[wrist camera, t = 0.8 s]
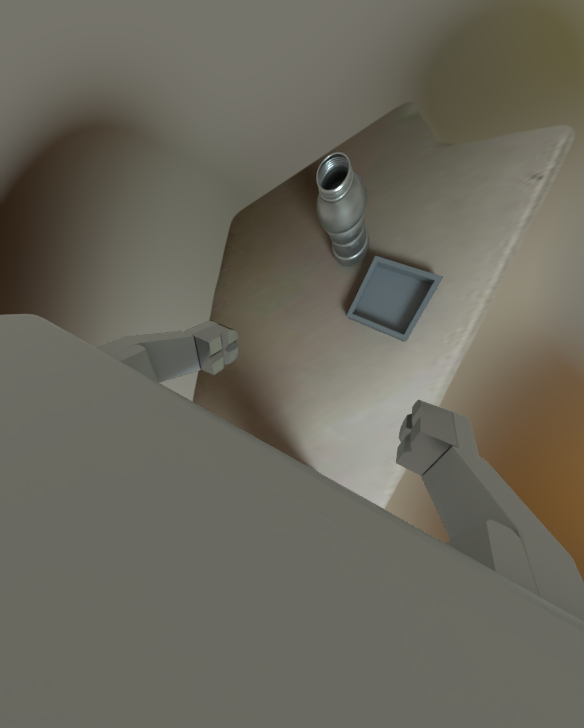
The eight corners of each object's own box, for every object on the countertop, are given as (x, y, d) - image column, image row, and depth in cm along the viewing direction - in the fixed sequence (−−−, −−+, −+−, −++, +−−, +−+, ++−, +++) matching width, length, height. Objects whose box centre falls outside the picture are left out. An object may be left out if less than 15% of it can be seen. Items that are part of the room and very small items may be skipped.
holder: (403, 341, 38) (406, 341, 36) (348, 317, 42) (346, 316, 39) (437, 282, 36) (443, 276, 33) (375, 261, 39) (375, 255, 36)
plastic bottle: (329, 265, 42) (294, 202, 23) (343, 229, 41) (316, 132, 22) (360, 273, 40) (348, 212, 22) (375, 236, 39) (377, 137, 20)
